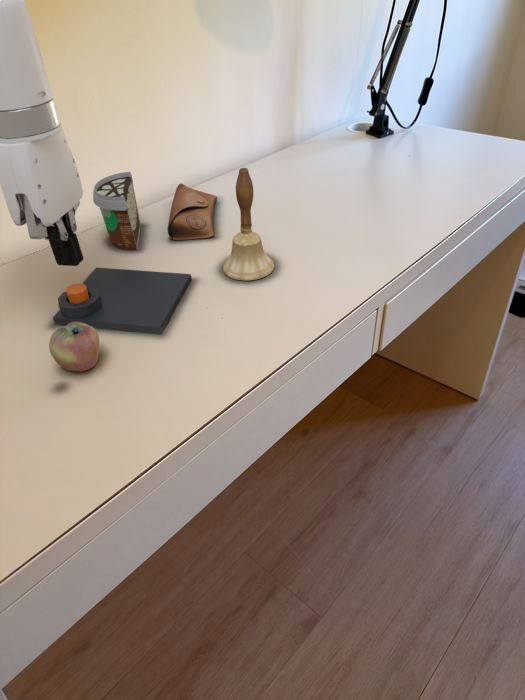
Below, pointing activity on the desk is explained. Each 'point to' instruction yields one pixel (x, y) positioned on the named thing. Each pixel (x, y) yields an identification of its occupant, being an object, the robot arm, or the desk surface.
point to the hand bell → (247, 239)
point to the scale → (126, 300)
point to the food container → (119, 209)
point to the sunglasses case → (191, 214)
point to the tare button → (77, 293)
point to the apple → (75, 346)
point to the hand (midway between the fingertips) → (70, 262)
